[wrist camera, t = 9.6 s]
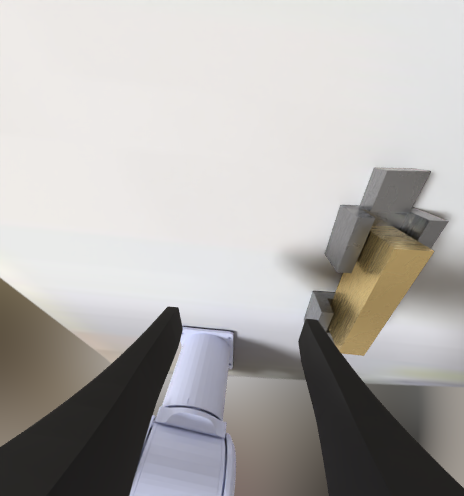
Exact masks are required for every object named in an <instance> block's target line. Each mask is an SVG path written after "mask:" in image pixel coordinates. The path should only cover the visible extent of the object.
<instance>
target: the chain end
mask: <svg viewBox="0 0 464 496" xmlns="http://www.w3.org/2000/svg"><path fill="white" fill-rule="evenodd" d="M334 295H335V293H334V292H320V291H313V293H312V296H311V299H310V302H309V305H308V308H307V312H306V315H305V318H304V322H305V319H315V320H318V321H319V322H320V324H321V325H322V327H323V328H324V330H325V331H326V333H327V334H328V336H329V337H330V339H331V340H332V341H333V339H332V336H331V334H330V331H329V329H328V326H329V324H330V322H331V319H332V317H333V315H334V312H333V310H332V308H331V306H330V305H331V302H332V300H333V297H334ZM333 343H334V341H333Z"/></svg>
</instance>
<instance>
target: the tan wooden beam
mask: <svg viewBox="0 0 464 496" xmlns="http://www.w3.org/2000/svg"><path fill="white" fill-rule="evenodd" d="M433 253H434V251H433V250H432V249H430V248H428V247H427V246H425V245H423V244H422V243H420V242H418V241H417V240H415V239H413V238H412V237H410V236H408V235H406V234H405V233H403V232H401V231H400V230H398V229H396V228H395V227H393V226H372V227H371V229H370V232H369V234H368V236H367V239H366V241H365V243H364V246H363V248H362V250H361V252H360V255H359V257H358V259H357V262H356V264H355V266H354V269H353V271H352V273H343V275H342V277H341V280H340V282H339V285H338V287H337V290H336V292H335V295H334V297H333V300H332V302H331V305H330V306H331V308H332V310H333V312H334V315H333V317H332V319H331V322H330V324H329V326H328V329H329V331H330V334H331V336H332V339H333V341H334V344H335V346H336V347H337V348H338V350H339V351H340V352H341V353H343V354H353V355H362V356H364V355H365V353H366V352H367V350H368V349H369V347H370V346H371V344H372V343H373V341H374V340H375V338H376V337H377V336H378V334H379V333H380V331H381V330H382V328H383V327H384V325H385V324H386V322H387V321H388V319H389V318H390V316H391V315H392V313H393V312H394V310H395V309H396V307H397V306H398V304H399V303H400V301H401V300H402V299H403V297H404V296H405V294H406V293H407V291H408V290H409V288H410V287H411V285H412V284H413V282H414V281H415V279H416V278H417V276H418V275H419V273H420V272H421V270H422V269H423V267H424V266H425V264H426V263H427V262H428V260H429V259H430V257H431V256H432V254H433Z"/></svg>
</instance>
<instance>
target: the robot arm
mask: <svg viewBox="0 0 464 496" xmlns="http://www.w3.org/2000/svg"><path fill="white" fill-rule="evenodd" d="M233 336H234V334H233V332H230V331H219V330H209V329H199V328H188V327H182V323H181V318H180V313H179V309H178V307H167V308H166V309H165V310H164V311H163V312H162V314H161V315H160V316H159V317H158V318H157V319H156V320H155V321H154V322H153V323H152V325H151V326H150V327H149V328H148V329H147V330H146V331H145V332H144V333H143V334H142V335H141V336H140V337H139V338H138V339H137V340H136V341H135V342H134V343H133V344H132V345H131V346H130V347H129V348H128V349H127V350H126V351H125V352H124V353H123V354H122V355H121V356H120V357H119V358H117V359H116V360H115V361H114V362H113V363H112V364H111V365H110V366H109V367H107V368H106V369H105V370H104V371H103V372H102V373H101V374H99V375H98V376H97V377H96V378H95V379H93V380H92V381H91V382H90V383H88V384H87V385H86V386H85V387H83V388H82V389H81V390H80V391H78V392H77V393H76V394H75V395H73V396H72V397H71V398H69V399H68V400H67V401H65V402H64V403H63V404H61V405H60V406H59V407H57V408H56V409H55V410H53V411H52V412H50V413H49V414H48V415H46V416H45V417H43V418H42V419H41V420H40V421H38V422H37V423H35V424H34V425H32V426H31V427H29V428H28V429H27V430H25V431H24V432H22V433H21V434H19V435H18V436H16V437H15V438H13V439H12V440H10V441H9V442H7V443H6V444H4V445H3V446H1V447H0V496H234V490H235V477H236V454H235V447H234V444H233V441H232V439H231V436H230V434H228V433H226V424H227V423H226V422H223V413H224V404H225V394H226V385H227V377H228V369H232V368H233ZM180 340H181V345H182V349H181V352H180V355H179V358H178V361H177V364H176V367H175V370H174V372H173V376H172V378H171V381H170V384H169V387H168V390H167V393H166V396H165V398H164V401H163V404H162V407H160V408H159V410H158V413H157V416H156V419H155V416H154V415H153V412H154V408H155V405H156V402H157V399H158V397H159V394H160V391H161V389H162V386H163V384H164V381H165V379H166V376H167V374H168V371H169V369H170V366H171V364H172V361H173V359H174V356H175V354H176V351H177V349H178V346H179V342H180ZM298 342H299V349H300V356H301V362H302V366H303V370H304V374H305V378H306V382H307V385H308V389H309V393H310V397H311V401H312V404H313V409H314V413H315V417H316V422H317V426H318V432H319V438H320V443H321V449H322V455H323V460H324V467H325V473H326V479H327V485H328V493H329V496H464V488H463V487H462V486H461V485H460V484H459V483H458V482H456V481H455V479H454V478H452V477H451V476H450V475H449V474H448V473H447V472H446V471H445V470H444V469H443V468H442V467H441V466H440V465H439V464H438V463H437V462H436V461H435V460H434V459H433V458H432V457H431V456H430V454H429V453H428V452H426V450H425V449H423V447H421V445H420V444H419V443H418V442H417V441H416V440H415V439H414V438H413V437H412V436H411V435H410V434H409V433H408V432H407V431H406V430H405V429H404V428H403V427H402V426H401V425H400V423H399V422H398V421H397V420H396V419H395V418H394V417H393V416H392V415H391V414H390V412H389V411H388V410H387V409H386V408H385V407H384V406H383V405H382V403H381V402H380V401H379V400H378V399H377V398H376V397H375V395H374V394H373V393H372V392H371V391H370V390H369V388H368V387H367V386H366V385H365V383H364V382H363V381H362V380H361V378H360V377H359V376H358V375H357V373H356V372H355V371H354V370H353V368H352V367H351V366H350V364H349V363H348V362H347V360H346V359H345V358H344V356H343V355H342V354H341V352H340V351H339V350H338V348H337V347H336V346H335V344H334V343H333V341H332V340H331V339H330V337H329V336H328V334H327V333H326V331H325V330H324V328H323V327H322V325H321V324H320V322H319V321H318V320H315V319H305V322H304V325H303V329H302V332H301V335H300V338H299V341H298Z"/></svg>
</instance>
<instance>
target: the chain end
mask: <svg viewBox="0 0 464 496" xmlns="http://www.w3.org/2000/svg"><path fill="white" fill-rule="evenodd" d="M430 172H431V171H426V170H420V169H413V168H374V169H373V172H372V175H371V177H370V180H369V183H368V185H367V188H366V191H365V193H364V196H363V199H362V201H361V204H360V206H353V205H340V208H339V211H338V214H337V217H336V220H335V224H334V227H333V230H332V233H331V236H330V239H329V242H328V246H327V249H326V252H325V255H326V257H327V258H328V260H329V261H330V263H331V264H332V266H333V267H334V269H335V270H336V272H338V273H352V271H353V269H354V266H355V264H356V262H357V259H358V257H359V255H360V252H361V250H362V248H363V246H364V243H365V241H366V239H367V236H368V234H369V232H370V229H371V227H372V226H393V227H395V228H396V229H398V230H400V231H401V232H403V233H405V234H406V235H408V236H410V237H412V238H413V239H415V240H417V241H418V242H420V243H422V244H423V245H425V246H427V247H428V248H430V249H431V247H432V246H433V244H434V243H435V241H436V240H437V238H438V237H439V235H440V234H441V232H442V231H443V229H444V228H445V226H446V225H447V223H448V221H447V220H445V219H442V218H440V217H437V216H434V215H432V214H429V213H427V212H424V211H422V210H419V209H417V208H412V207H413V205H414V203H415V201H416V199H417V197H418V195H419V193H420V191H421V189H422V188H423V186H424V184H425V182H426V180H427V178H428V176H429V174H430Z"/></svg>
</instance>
